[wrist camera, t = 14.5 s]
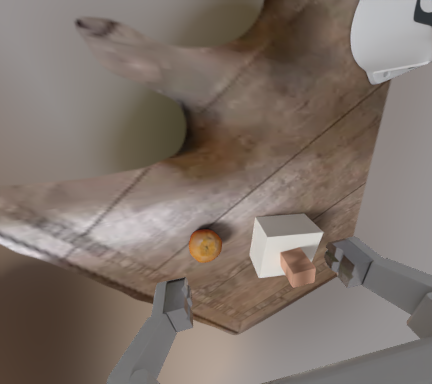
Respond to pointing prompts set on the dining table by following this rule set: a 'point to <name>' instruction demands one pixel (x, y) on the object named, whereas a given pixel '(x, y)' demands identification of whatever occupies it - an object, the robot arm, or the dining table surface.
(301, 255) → the terracotta block
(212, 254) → the fruit
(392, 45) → the robot arm
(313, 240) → the cream box
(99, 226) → the dining table surface
